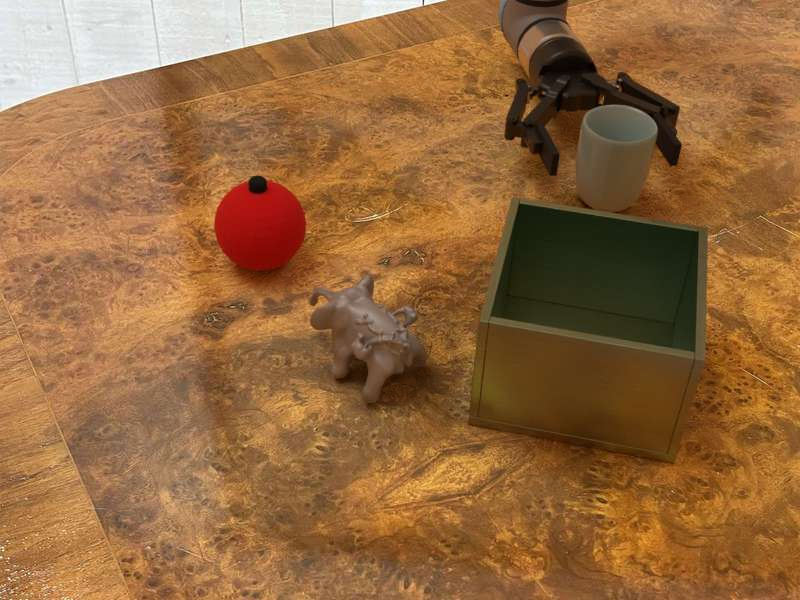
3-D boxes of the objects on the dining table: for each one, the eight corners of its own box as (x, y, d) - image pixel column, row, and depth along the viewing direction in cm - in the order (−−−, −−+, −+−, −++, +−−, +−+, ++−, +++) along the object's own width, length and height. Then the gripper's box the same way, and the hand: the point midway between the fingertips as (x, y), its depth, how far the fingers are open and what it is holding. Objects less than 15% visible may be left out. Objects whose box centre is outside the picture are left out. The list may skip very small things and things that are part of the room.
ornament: (258, 223, 113) (253, 143, 106) (325, 256, 109) (323, 174, 103) (199, 265, 107) (189, 183, 101) (267, 301, 103) (261, 218, 97)
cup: (594, 228, 114) (609, 149, 108) (557, 189, 119) (569, 111, 113) (654, 213, 117) (673, 134, 110) (615, 175, 122) (631, 98, 115)
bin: (680, 327, 102) (708, 227, 95) (674, 463, 89) (705, 360, 82) (499, 296, 105) (511, 196, 97) (467, 424, 92) (478, 320, 84)
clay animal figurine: (395, 418, 92) (397, 353, 87) (273, 375, 96) (269, 311, 91) (436, 352, 99) (441, 288, 94) (321, 314, 102) (319, 251, 97)
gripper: (648, 85, 134) (717, 180, 118) (455, 98, 130) (499, 198, 114) (660, 30, 129) (733, 121, 113) (459, 42, 125) (506, 138, 109)
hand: (616, 160), depth 114 cm, fingers open, 13 cm apart
